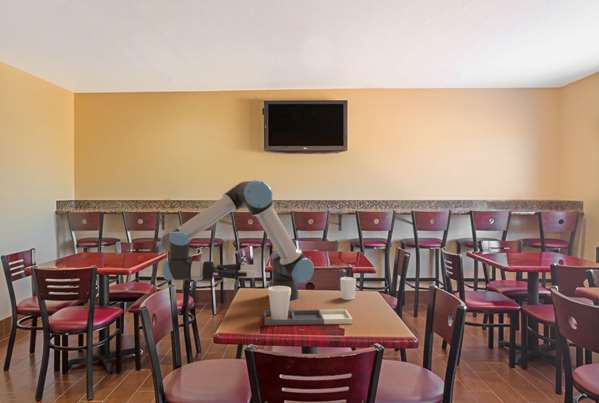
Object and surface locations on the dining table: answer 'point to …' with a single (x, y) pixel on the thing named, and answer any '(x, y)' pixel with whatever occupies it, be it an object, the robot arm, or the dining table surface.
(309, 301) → the dining table surface
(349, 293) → the white cup
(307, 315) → the grey flat rectangular tray
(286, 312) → the foam cup
